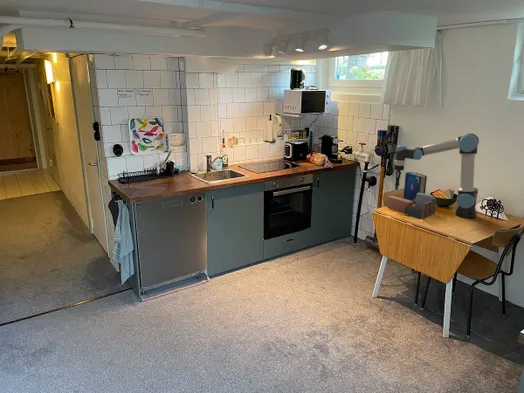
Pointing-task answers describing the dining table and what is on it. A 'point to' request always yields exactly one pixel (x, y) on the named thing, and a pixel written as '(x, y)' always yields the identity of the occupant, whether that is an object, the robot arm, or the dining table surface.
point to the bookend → (413, 211)
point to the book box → (398, 203)
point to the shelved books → (423, 199)
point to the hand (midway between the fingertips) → (396, 193)
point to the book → (414, 185)
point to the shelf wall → (428, 209)
